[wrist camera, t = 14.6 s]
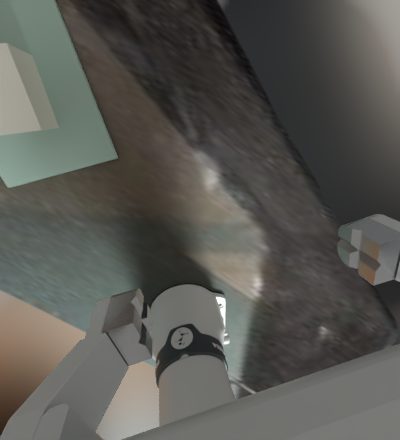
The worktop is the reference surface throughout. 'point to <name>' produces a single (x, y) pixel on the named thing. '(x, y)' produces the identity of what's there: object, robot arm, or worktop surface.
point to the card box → (22, 94)
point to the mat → (52, 99)
